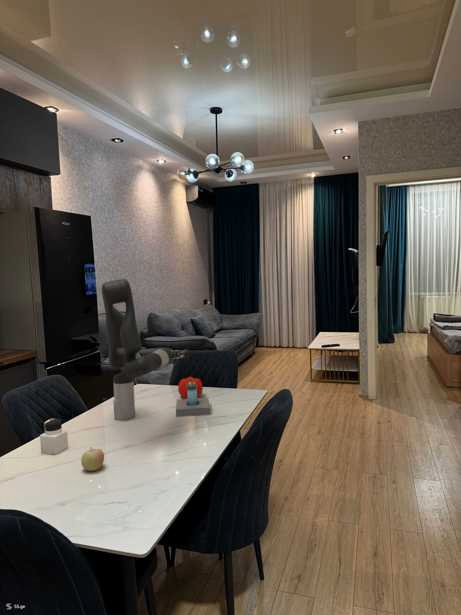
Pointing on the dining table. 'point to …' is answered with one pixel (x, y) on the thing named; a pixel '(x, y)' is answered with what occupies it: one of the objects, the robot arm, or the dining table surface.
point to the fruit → (92, 459)
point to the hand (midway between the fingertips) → (179, 350)
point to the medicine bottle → (53, 437)
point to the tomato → (183, 388)
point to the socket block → (192, 407)
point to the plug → (192, 393)
